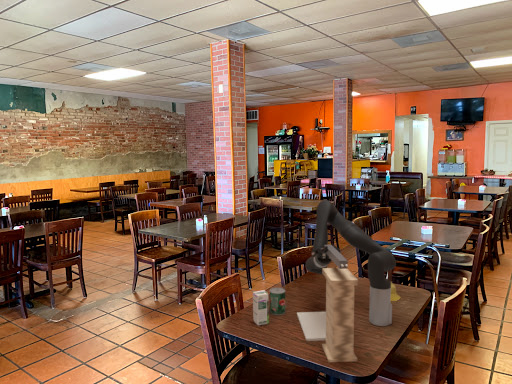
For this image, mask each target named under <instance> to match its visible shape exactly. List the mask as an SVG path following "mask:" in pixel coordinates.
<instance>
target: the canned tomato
mask: <svg viewBox="0 0 512 384" xmlns="http://www.w3.org/2000/svg"><path fill="white" fill-rule="evenodd" d="M286 312H287V311H286V289H285V288H283V287H272V288H270V289H269V314H272V315H275V316H281V315H284V314H286Z"/></svg>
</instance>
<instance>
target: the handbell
mask: <svg viewBox="0 0 512 384" xmlns="http://www.w3.org/2000/svg"><path fill="white" fill-rule="evenodd" d="M389 252H390V253H391V254H392V255H393V252H391V251H389ZM393 256H394V255H393ZM392 275H393V269H392V270H390V271H387V276H386V278H387V279H389V280H390V281H391V301H397V300H399V299H400V298H401V296H400V295H399V294H398V293H397V288H396V285H395V284H394V283H393V281H392V280H393V279H392V278H393V276H392Z"/></svg>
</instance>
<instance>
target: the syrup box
mask: <svg viewBox="0 0 512 384" xmlns="http://www.w3.org/2000/svg"><path fill="white" fill-rule="evenodd" d="M252 312H253V317H252V318H253V322H254V323H255V325H256V326H261V325H268V324H270V296H269V293H268V291H266V290H265V289H263V290H257V291H252Z"/></svg>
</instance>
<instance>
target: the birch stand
mask: <svg viewBox="0 0 512 384" xmlns="http://www.w3.org/2000/svg"><path fill="white" fill-rule="evenodd" d="M322 275H323V277H324V278H325V312H326V340H325V343H321V347H322V350H323V352H324V354H325V357H326V358H327V361H328V363H341V362H343V363H344V362H346V363H347V362H358V361H359V360H358V357H357V355H356V354H355V352H354V344H355V343H354V341H355V339H354V338H355V337H354V336H355V335H354V334H355V286H359V279H358V278H357V277H356V276H355V275H354V274H353V273H352V272H351V271H350V270H349V269H339V268H338V267H327V268H322Z"/></svg>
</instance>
